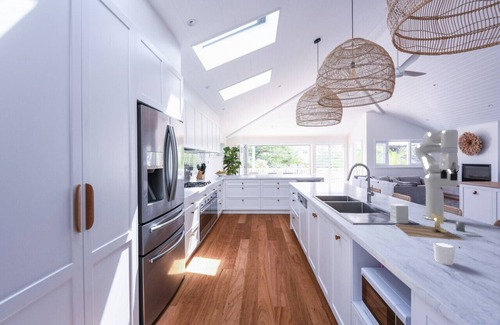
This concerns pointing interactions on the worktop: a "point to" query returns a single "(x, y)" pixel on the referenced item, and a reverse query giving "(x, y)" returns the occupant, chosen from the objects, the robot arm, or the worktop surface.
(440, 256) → the shot glass
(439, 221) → the key
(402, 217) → the supplement box
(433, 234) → the board
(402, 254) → the worktop surface
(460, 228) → the lid
